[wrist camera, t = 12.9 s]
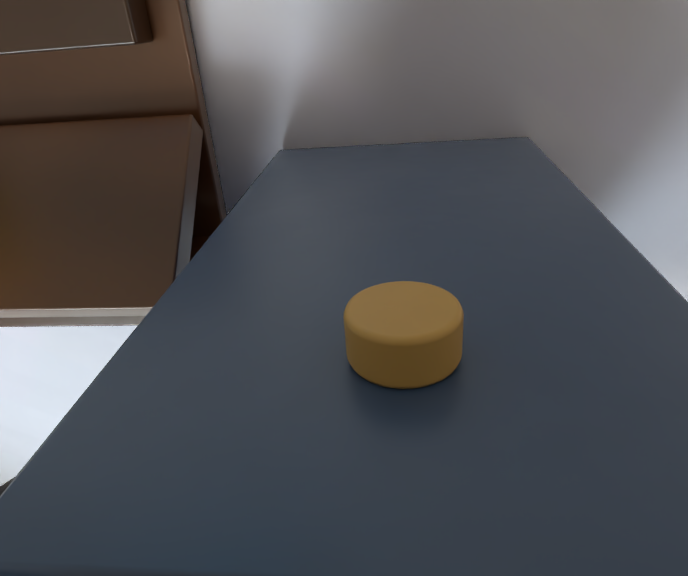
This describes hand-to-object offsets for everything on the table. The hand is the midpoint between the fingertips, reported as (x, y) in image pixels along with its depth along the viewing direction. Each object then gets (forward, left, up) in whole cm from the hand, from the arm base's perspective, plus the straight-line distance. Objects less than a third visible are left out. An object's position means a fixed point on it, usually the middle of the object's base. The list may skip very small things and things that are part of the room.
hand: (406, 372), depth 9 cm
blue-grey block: (-3, +3, -5) cm, 6 cm away
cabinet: (+8, +5, -7) cm, 12 cm away
